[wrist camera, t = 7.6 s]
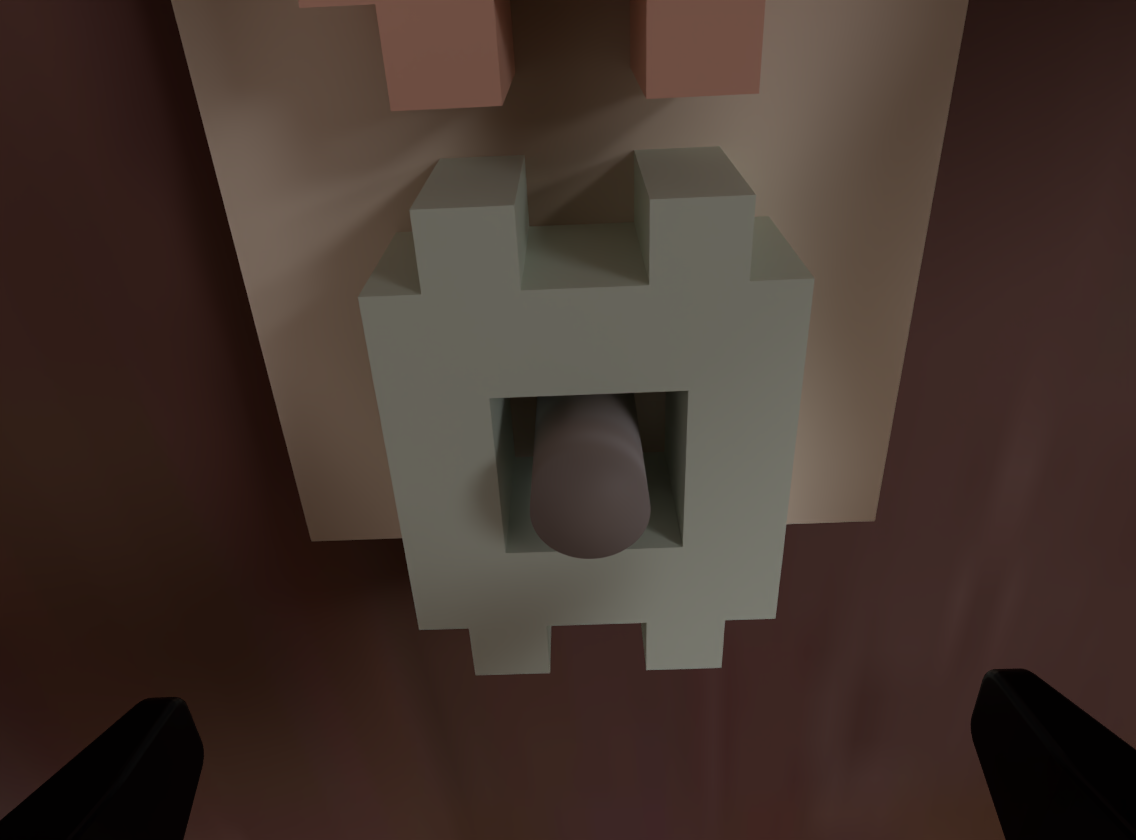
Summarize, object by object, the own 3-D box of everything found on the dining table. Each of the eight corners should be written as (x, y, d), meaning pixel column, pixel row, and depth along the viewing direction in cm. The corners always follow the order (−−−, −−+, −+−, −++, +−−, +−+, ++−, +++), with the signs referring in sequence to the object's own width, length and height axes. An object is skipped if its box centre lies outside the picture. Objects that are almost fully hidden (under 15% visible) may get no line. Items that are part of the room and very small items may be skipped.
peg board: (1036, -670, 10) (1465, -1230, 5) (853, 480, 19) (951, 666, 14) (66, -603, 10) (-370, -1081, 5) (329, 500, 19) (247, 688, 14)
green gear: (774, 143, 13) (824, 192, 11) (740, 560, 18) (769, 666, 15) (385, 160, 13) (342, 212, 11) (447, 570, 18) (427, 676, 15)
